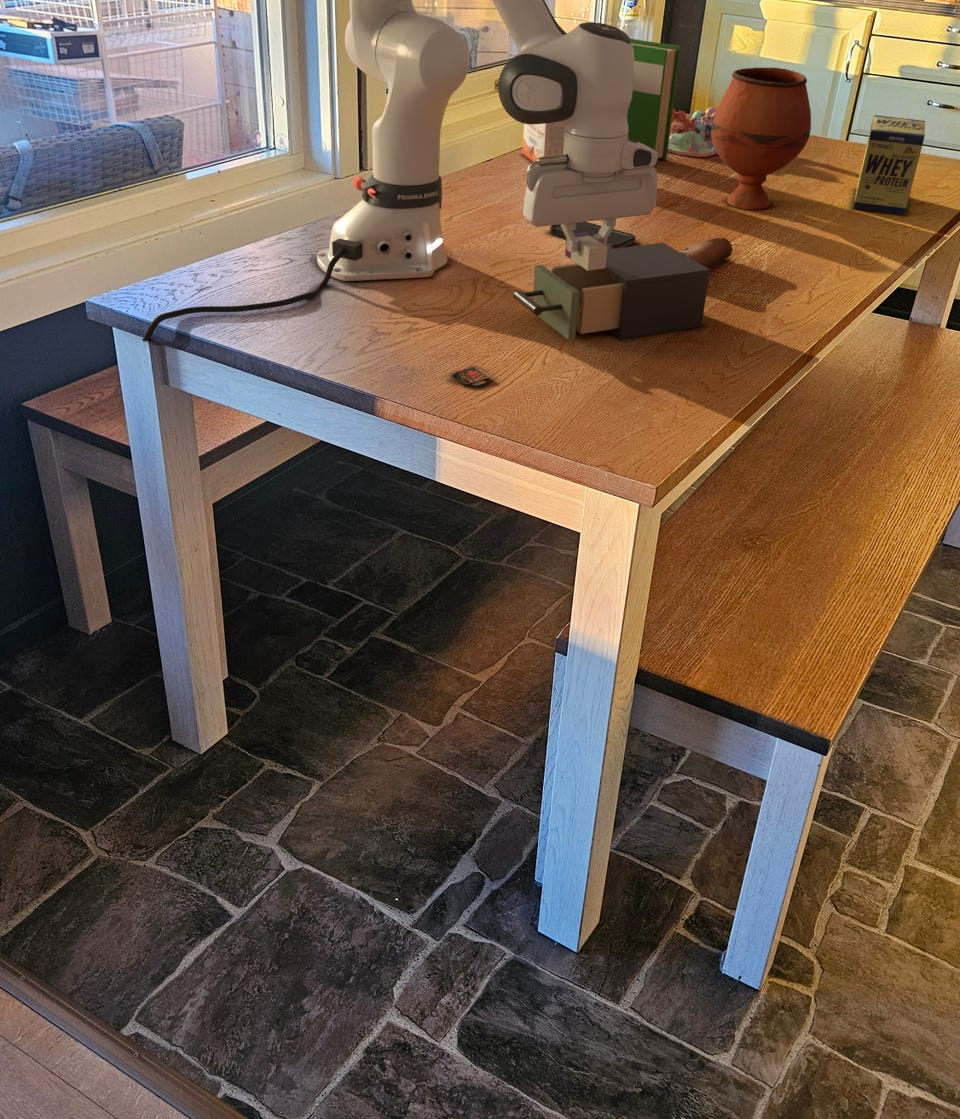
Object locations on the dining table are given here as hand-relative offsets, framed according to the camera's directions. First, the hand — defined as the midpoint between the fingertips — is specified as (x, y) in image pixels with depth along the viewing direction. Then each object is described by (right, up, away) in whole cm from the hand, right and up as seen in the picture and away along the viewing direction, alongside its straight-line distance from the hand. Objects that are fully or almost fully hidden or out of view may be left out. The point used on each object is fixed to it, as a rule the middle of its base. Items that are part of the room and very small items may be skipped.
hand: (586, 249), depth 160 cm
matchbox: (-17, -21, -10) cm, 28 cm away
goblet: (+40, +28, +64) cm, 80 cm away
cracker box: (-1, +44, +85) cm, 96 cm away
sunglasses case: (+21, +5, +30) cm, 37 cm away
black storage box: (+9, -8, +11) cm, 16 cm away
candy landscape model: (+39, +54, +103) cm, 123 cm away
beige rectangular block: (0, -2, +1) cm, 2 cm away
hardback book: (+18, +48, +93) cm, 106 cm away
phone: (+5, +14, +42) cm, 45 cm away
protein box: (+68, +29, +68) cm, 101 cm away
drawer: (-1, -9, +6) cm, 11 cm away
